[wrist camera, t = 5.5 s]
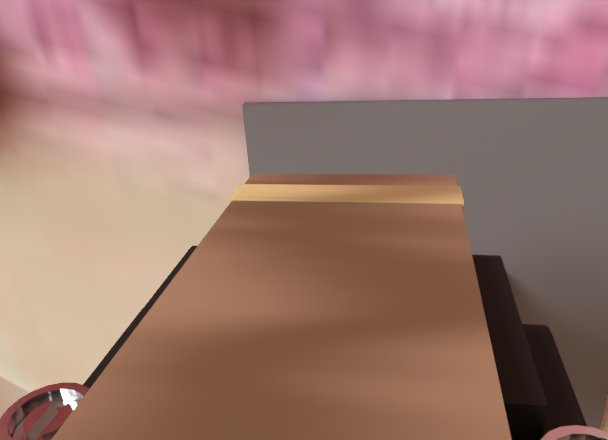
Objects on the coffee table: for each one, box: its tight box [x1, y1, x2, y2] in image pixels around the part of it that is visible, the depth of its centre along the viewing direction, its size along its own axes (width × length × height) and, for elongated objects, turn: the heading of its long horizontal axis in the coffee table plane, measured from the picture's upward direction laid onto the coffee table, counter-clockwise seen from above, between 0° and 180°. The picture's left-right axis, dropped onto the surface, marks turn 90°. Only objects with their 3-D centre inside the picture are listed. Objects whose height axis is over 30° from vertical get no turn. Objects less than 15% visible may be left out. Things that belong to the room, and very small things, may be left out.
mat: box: [243, 97, 608, 429], centre depth 26 cm, size 17×17×1 cm
